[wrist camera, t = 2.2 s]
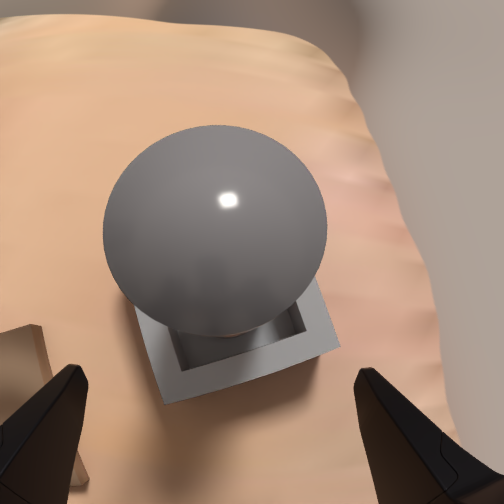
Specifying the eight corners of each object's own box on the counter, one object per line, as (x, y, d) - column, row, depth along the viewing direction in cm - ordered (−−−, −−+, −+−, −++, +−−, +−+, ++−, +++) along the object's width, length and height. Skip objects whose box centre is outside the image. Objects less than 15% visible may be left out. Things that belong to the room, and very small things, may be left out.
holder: (321, 347, 20) (340, 346, 17) (177, 394, 19) (164, 404, 15) (271, 213, 23) (279, 186, 19) (136, 254, 22) (118, 234, 18)
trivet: (89, 478, 16) (81, 485, 15) (-10, 477, 15) (-19, 481, 13) (41, 326, 20) (30, 324, 18) (-47, 351, 18) (-57, 350, 16)
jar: (282, 327, 20) (361, 288, 7) (196, 354, 19) (131, 363, 7) (253, 245, 21) (279, 108, 9) (171, 270, 20) (92, 160, 8)
